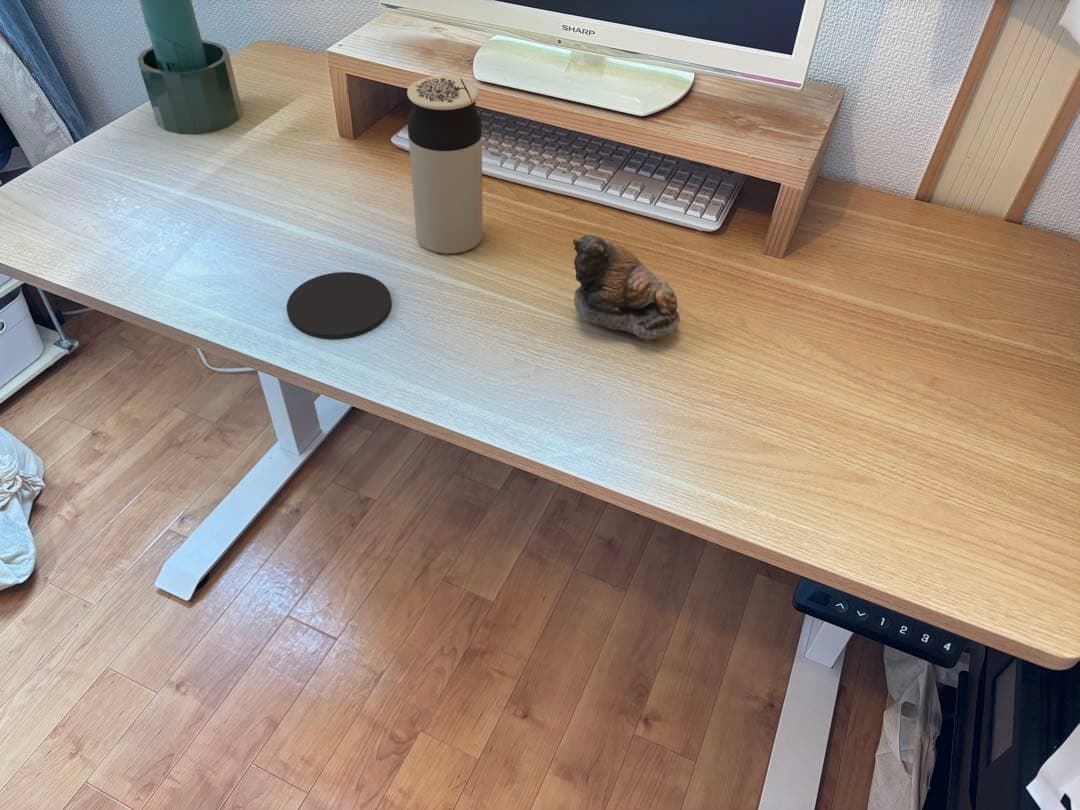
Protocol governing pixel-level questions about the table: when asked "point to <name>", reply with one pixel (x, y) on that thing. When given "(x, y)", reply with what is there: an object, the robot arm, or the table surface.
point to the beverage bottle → (174, 34)
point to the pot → (193, 93)
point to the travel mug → (446, 163)
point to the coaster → (339, 305)
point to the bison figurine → (621, 290)
